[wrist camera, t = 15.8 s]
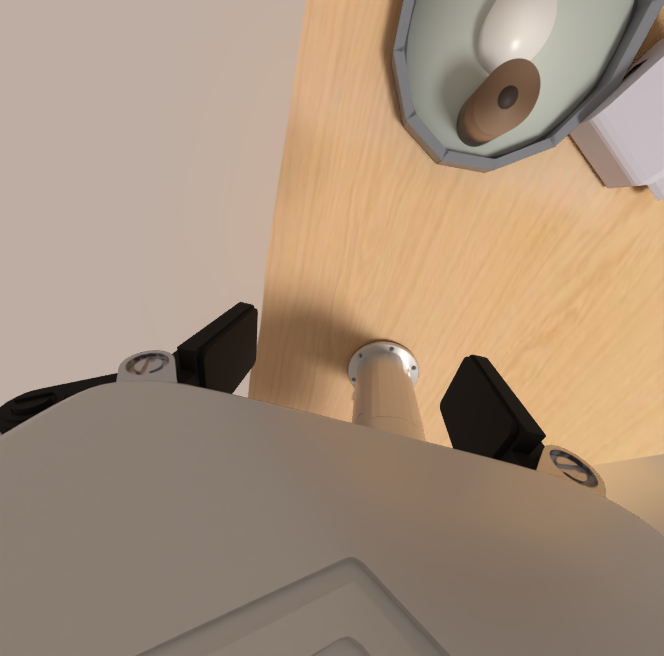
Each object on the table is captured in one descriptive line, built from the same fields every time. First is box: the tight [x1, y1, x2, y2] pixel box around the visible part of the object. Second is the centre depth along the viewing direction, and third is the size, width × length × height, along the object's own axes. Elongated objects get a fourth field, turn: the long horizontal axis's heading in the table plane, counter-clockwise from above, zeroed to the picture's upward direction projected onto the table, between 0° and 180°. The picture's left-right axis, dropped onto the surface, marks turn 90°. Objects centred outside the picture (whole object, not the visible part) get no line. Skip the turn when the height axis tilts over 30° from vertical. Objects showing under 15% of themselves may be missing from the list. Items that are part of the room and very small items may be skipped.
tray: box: [391, 0, 664, 173], centre depth 24 cm, size 22×22×2 cm
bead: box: [456, 58, 541, 147], centre depth 24 cm, size 5×5×6 cm
